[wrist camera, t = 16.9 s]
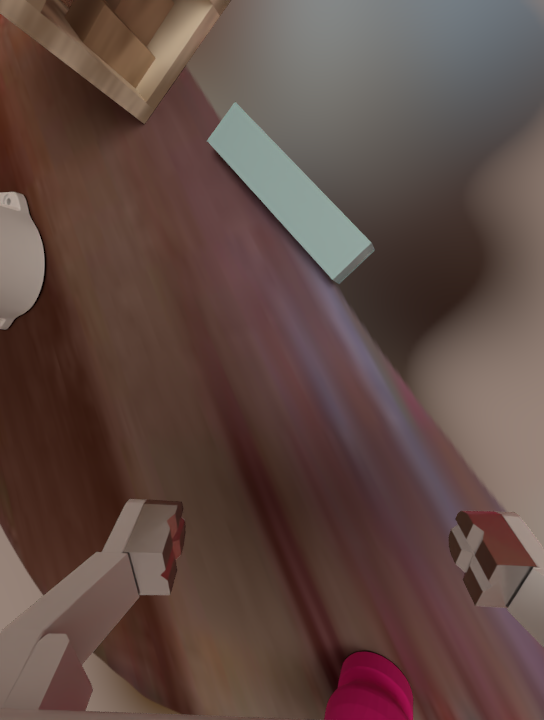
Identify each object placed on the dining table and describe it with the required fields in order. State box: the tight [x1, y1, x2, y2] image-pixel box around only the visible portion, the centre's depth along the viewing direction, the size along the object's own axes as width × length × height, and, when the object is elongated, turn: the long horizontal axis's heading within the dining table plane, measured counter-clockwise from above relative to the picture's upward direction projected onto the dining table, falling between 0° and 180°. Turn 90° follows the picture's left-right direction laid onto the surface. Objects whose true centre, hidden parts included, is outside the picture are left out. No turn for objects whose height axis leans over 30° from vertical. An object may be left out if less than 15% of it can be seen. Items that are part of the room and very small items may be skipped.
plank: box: [207, 102, 375, 284], centre depth 30 cm, size 18×4×2 cm, turn 41°
